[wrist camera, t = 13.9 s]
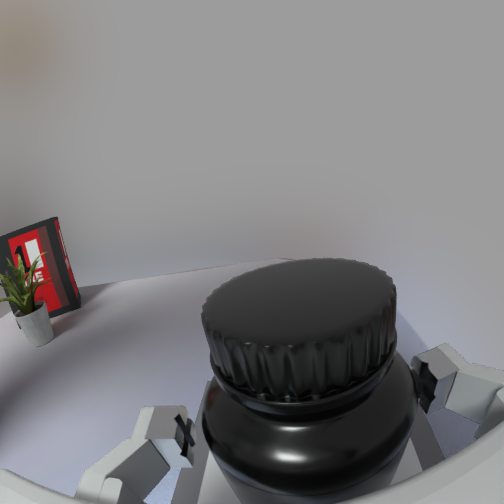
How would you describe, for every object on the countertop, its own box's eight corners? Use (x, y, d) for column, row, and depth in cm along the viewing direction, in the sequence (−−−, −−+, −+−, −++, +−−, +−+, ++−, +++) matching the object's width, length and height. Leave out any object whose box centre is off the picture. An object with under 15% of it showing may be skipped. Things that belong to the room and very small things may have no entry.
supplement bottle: (389, 450, 11) (423, 241, 8) (363, 555, 5) (481, 399, 2) (276, 438, 14) (238, 249, 11) (224, 526, 8) (98, 346, 5)
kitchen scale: (171, 583, 6) (139, 574, 5) (216, 404, 23) (204, 372, 22) (452, 553, 4) (483, 537, 3) (390, 381, 21) (395, 347, 20)
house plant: (90, 332, 40) (58, 238, 35) (27, 370, 29) (-17, 268, 24) (63, 317, 47) (38, 241, 43) (12, 345, 36) (-19, 264, 32)
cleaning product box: (80, 296, 59) (57, 216, 53) (80, 307, 51) (53, 217, 46) (26, 315, 50) (0, 237, 45) (20, 329, 43) (-11, 240, 38)
